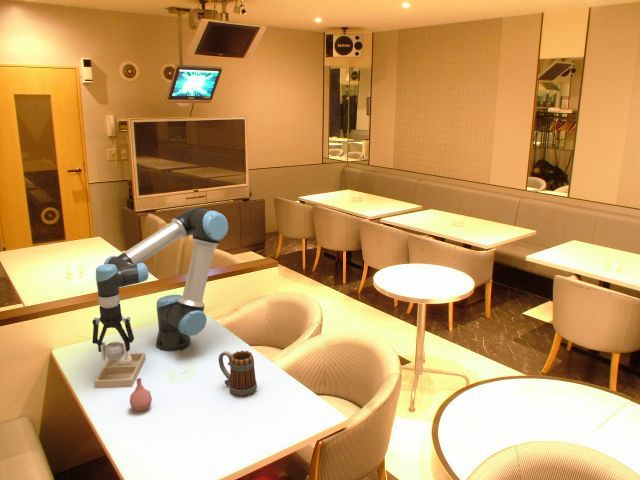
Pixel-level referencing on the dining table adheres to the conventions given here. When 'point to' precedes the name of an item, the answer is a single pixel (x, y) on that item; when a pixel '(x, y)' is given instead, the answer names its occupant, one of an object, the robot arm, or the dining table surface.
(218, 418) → the dining table surface
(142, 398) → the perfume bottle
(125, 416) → the dining table surface
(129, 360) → the egg
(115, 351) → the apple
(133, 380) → the wooden compartment tray
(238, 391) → the mug
